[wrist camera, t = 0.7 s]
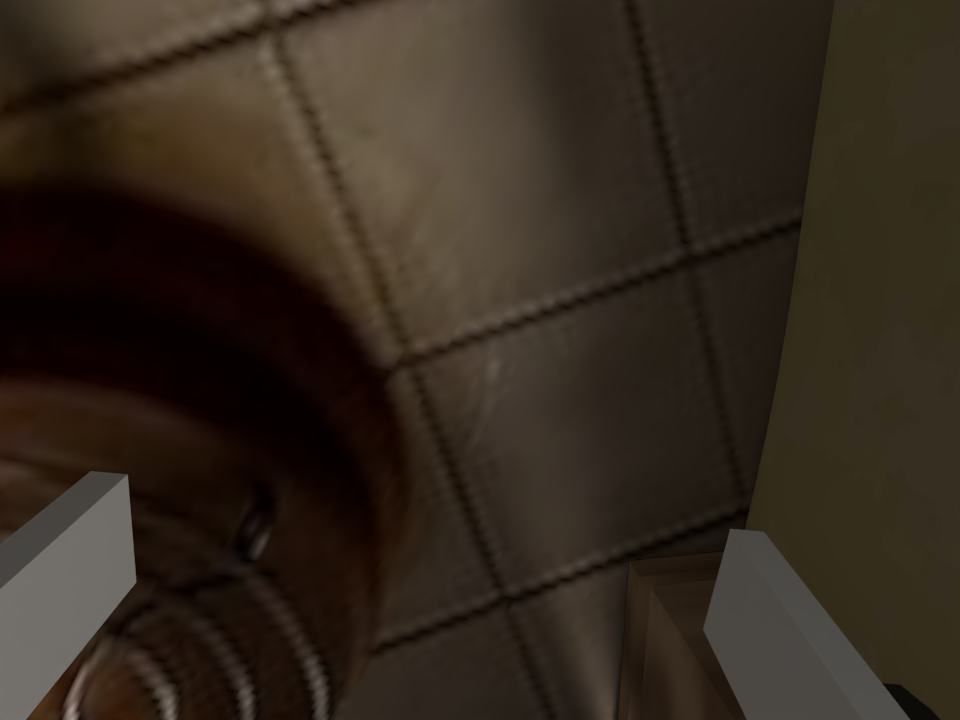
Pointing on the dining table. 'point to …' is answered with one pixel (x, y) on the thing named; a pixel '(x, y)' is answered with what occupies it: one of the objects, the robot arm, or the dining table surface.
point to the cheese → (877, 351)
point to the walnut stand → (672, 643)
